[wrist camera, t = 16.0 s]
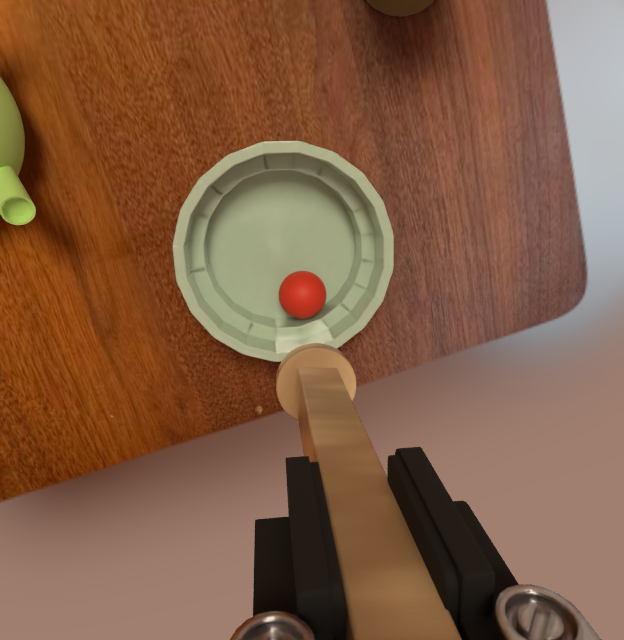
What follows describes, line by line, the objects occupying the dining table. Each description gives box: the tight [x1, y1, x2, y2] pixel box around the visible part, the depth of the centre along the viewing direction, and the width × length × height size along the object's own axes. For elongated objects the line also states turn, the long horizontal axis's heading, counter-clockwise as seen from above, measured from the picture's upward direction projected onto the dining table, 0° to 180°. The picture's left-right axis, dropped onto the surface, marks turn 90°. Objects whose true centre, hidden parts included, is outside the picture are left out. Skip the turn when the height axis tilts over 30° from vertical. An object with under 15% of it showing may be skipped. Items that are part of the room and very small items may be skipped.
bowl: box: [172, 141, 394, 362], centre depth 30 cm, size 12×12×5 cm
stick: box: [276, 343, 462, 640], centre depth 13 cm, size 3×3×15 cm
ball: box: [279, 271, 326, 319], centre depth 31 cm, size 3×3×3 cm
